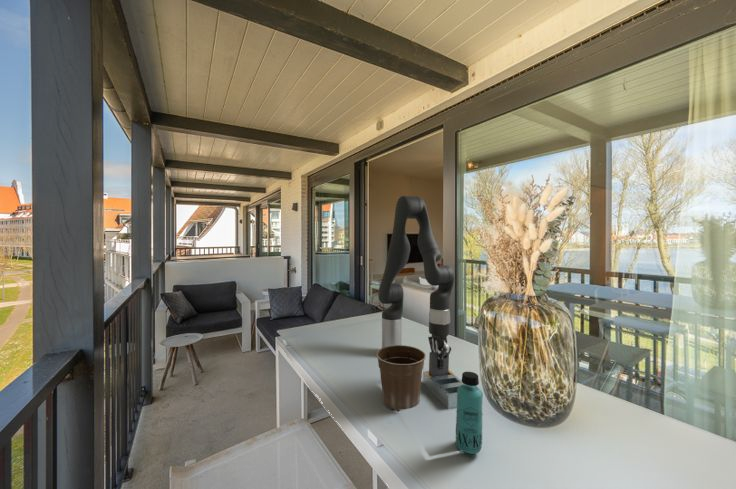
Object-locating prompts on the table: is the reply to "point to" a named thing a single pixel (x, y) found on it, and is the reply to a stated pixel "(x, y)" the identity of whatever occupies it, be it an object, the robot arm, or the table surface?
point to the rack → (443, 387)
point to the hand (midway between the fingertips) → (438, 367)
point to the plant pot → (401, 375)
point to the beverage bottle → (469, 414)
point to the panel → (434, 365)
